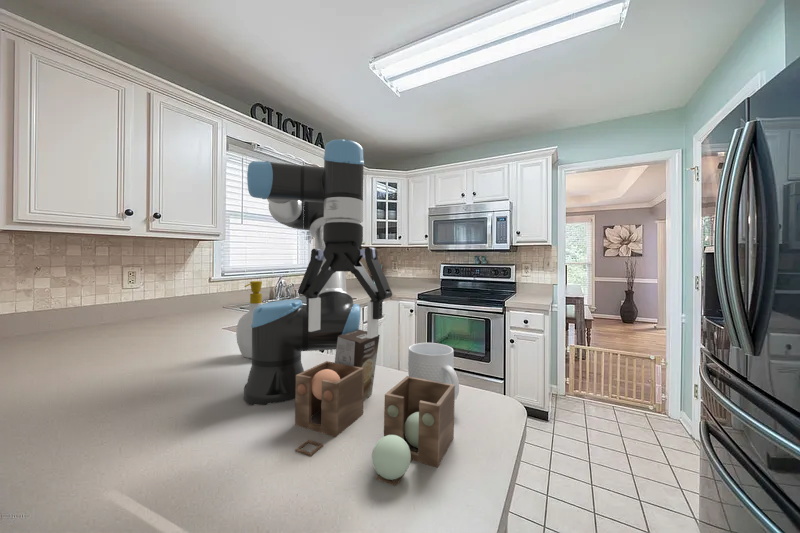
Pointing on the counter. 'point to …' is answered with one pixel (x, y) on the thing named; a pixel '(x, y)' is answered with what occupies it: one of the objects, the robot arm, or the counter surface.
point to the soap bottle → (248, 321)
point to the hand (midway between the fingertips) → (342, 333)
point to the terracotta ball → (317, 381)
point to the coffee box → (359, 355)
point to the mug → (433, 363)
